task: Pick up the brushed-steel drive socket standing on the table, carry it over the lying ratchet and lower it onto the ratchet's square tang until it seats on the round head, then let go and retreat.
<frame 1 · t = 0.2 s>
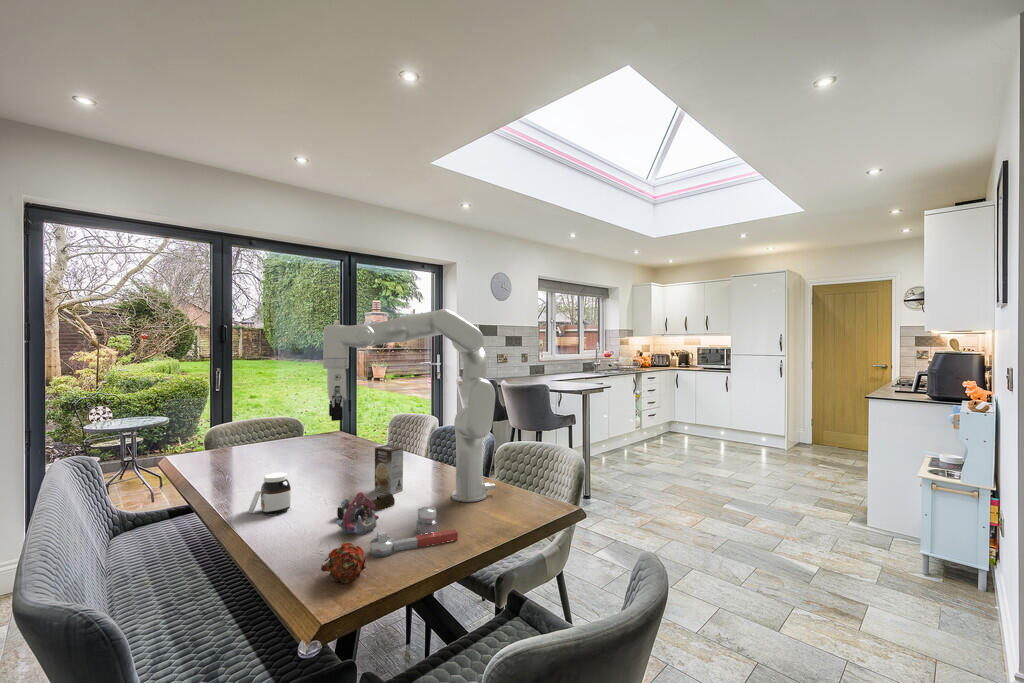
hand: (335, 418, 142), 31 cm above the table, tool pointing down, fingers open, 9 cm apart
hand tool: (366, 513, 146), on the table
brake caliper: (358, 530, 132), on the table
socket: (426, 530, 131), on the table
dragon fruit: (344, 579, 104), on the table
coffee box: (388, 491, 167), on the table
ratchet: (401, 548, 119), on the table
spread jar: (268, 512, 146), on the table
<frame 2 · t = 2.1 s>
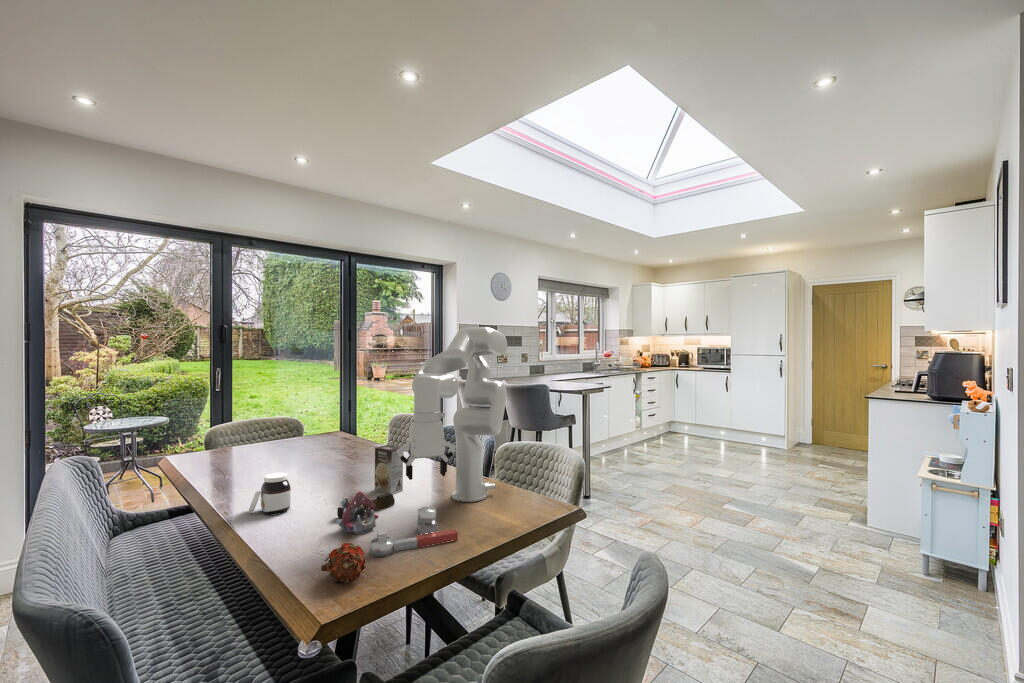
hand: (426, 476, 131), 16 cm above the table, tool pointing down, fingers open, 9 cm apart
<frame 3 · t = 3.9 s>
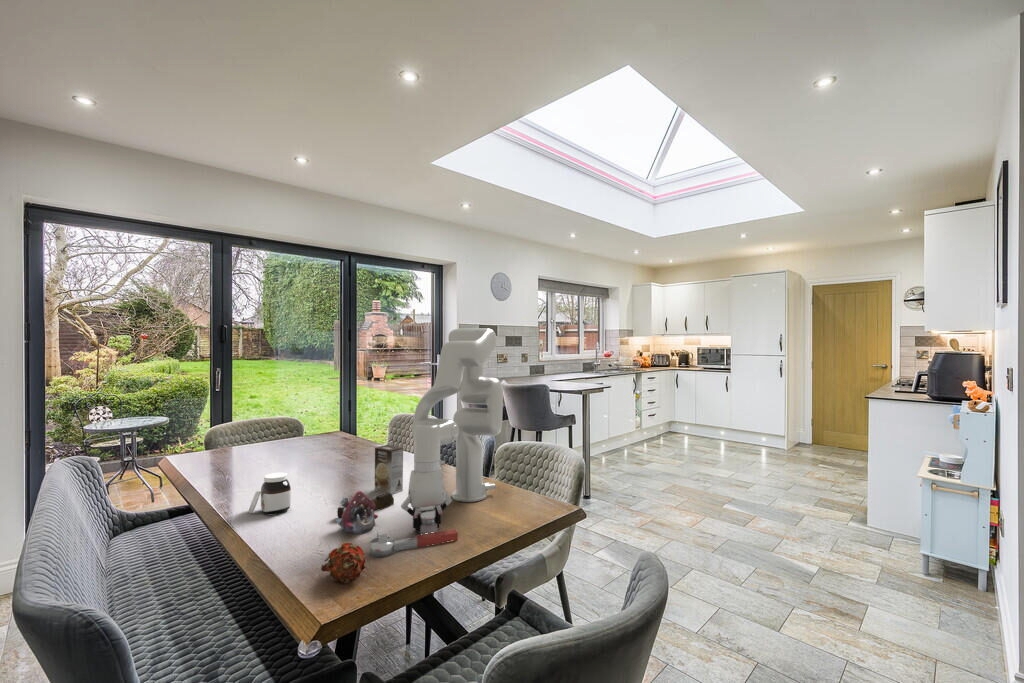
hand: (426, 528, 131), 1 cm above the table, tool pointing down, fingers closed on socket, 5 cm apart
socket: (426, 530, 131), on the table, touching gripper
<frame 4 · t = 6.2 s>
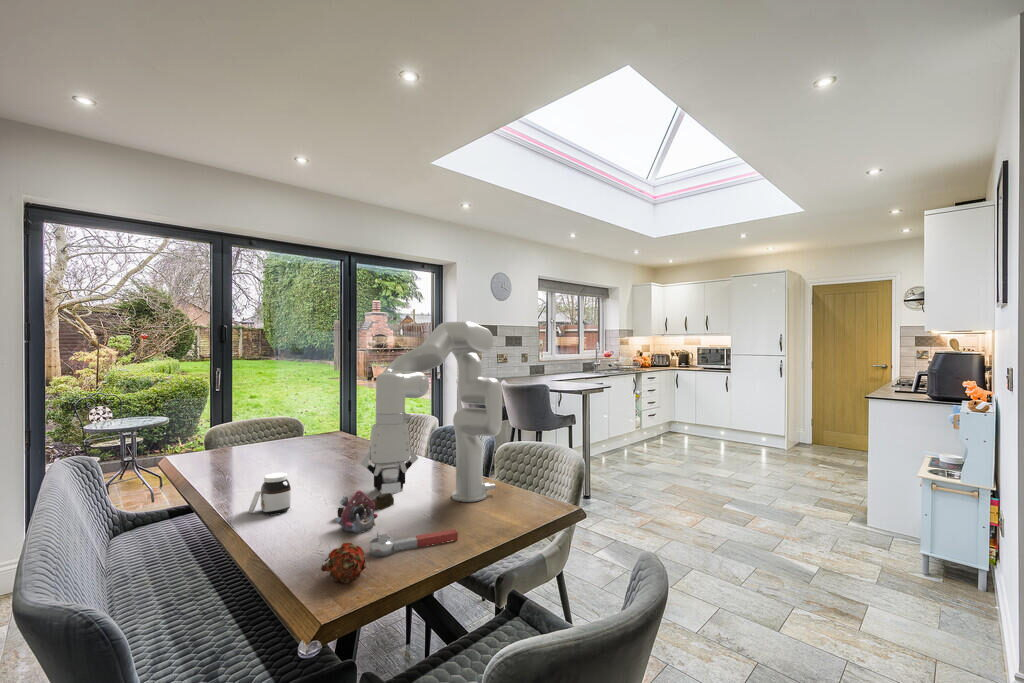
hand: (389, 487, 119), 16 cm above the table, tool pointing down, fingers closed on socket, 5 cm apart
socket: (389, 490, 119), point 15 cm above the table, touching gripper
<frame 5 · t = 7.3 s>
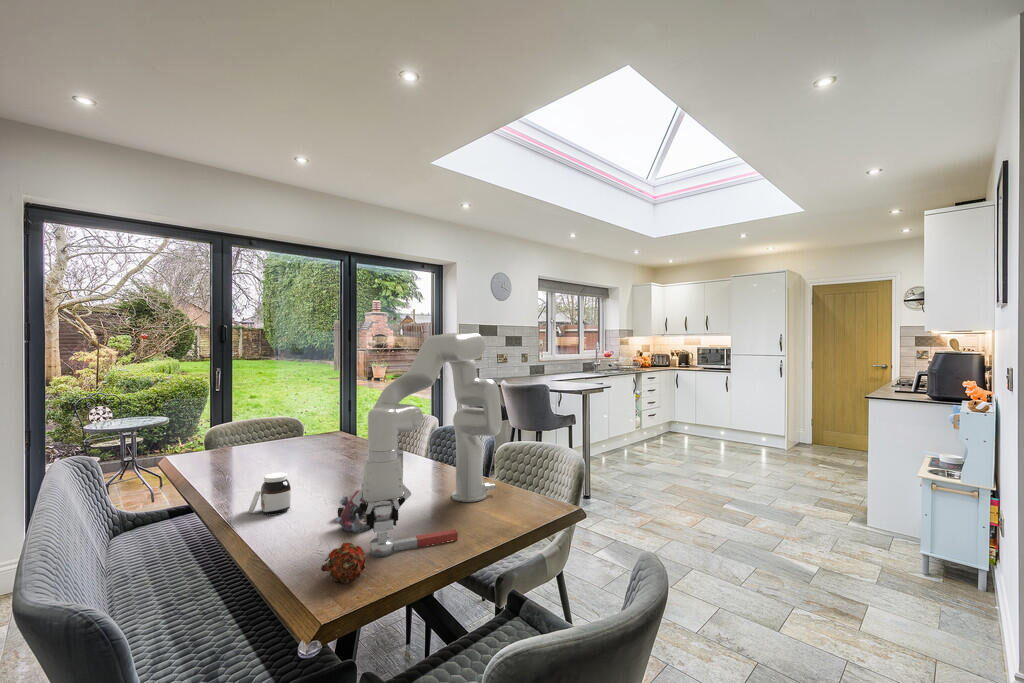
hand: (382, 524, 117), 7 cm above the table, tool pointing down, fingers closed on socket, 5 cm apart
socket: (382, 527, 117), point 6 cm above the table, touching gripper
when the fingers open (4 cm above the table, at t = 8.3 s): socket stays where it is, resting on ratchet.
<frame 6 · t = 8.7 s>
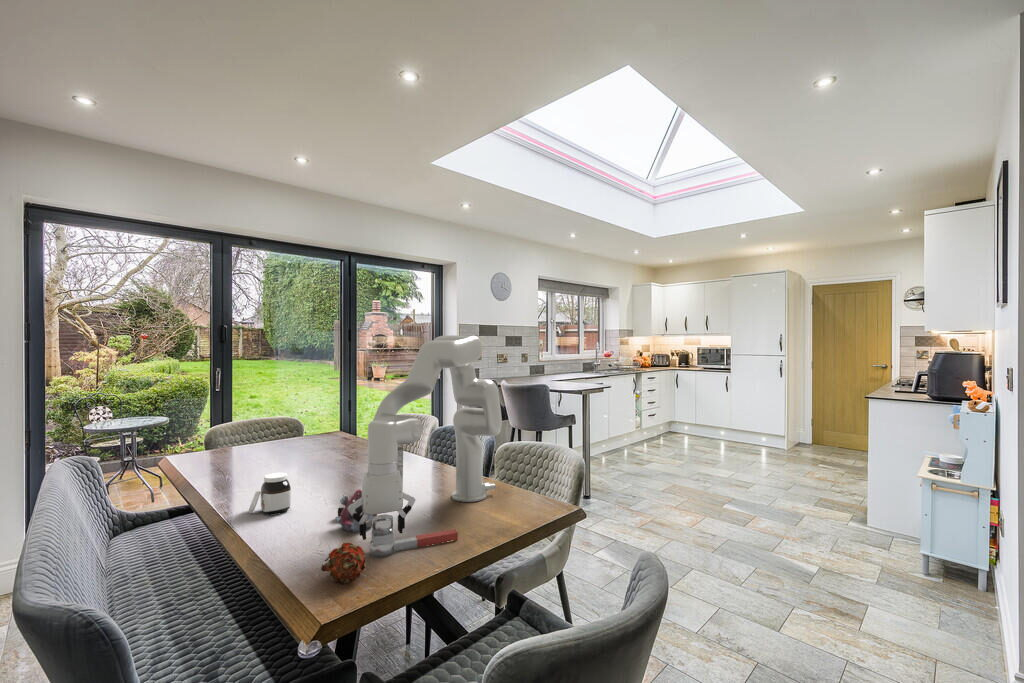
hand: (382, 534, 117), 5 cm above the table, tool pointing down, fingers open, 8 cm apart
socket: (382, 541, 117), point 3 cm above the table, touching ratchet
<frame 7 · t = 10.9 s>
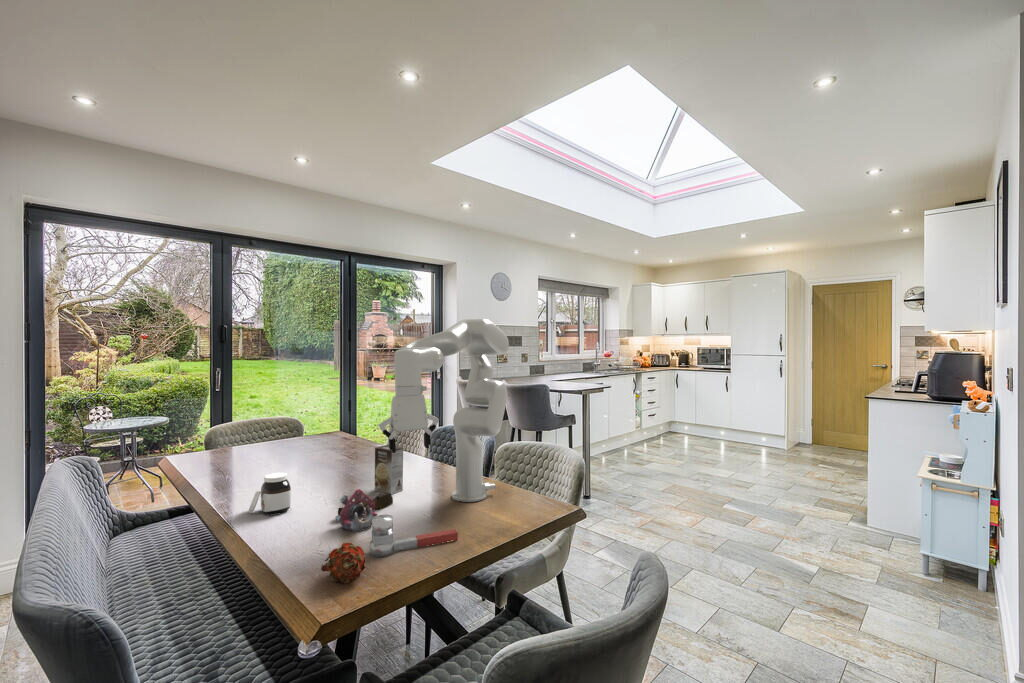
hand: (410, 449, 131), 23 cm above the table, tool pointing down, fingers open, 9 cm apart
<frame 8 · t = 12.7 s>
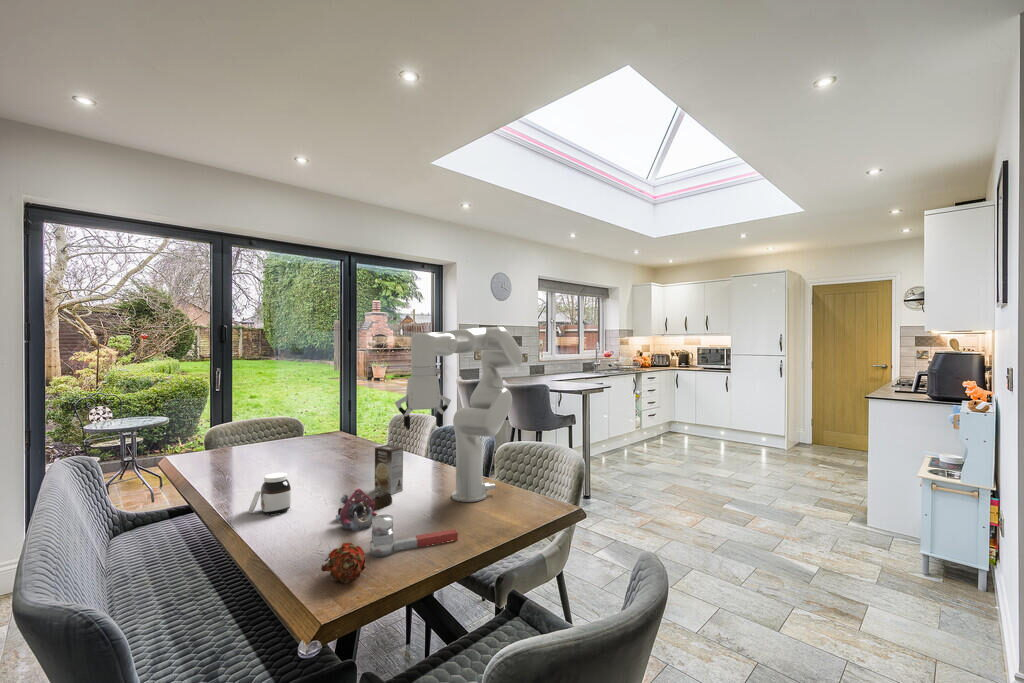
hand: (423, 427, 140), 28 cm above the table, tool pointing down, fingers open, 9 cm apart
at the end: socket 0.1 cm from the target spot on the ratchet, point 2.8 cm above the ratchet's base; the gripper is holding nothing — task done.
